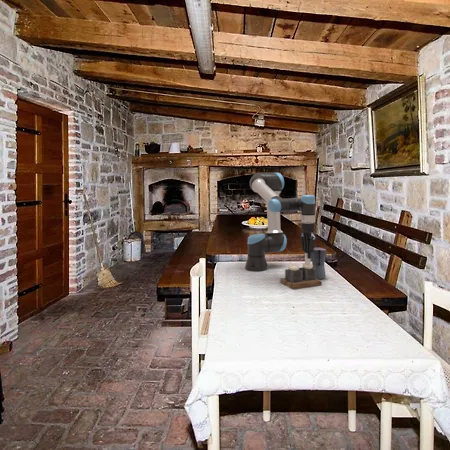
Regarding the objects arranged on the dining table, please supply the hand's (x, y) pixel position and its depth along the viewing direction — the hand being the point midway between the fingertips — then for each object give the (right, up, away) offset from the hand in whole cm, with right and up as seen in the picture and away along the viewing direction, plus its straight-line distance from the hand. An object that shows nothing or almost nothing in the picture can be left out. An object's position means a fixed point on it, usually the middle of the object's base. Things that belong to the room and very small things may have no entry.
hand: (307, 263), depth 192 cm
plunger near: (-8, -9, -2) cm, 12 cm away
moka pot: (+9, -10, +12) cm, 18 cm away
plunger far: (0, -8, +1) cm, 8 cm away
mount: (-4, -11, 0) cm, 12 cm away
